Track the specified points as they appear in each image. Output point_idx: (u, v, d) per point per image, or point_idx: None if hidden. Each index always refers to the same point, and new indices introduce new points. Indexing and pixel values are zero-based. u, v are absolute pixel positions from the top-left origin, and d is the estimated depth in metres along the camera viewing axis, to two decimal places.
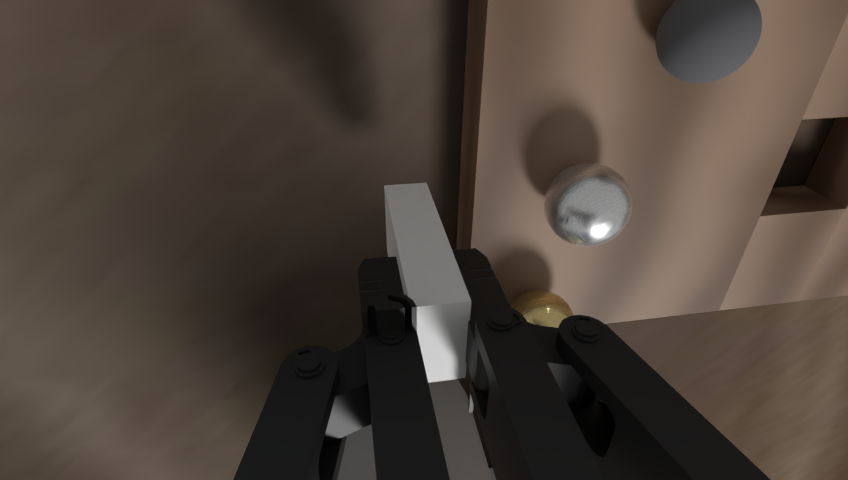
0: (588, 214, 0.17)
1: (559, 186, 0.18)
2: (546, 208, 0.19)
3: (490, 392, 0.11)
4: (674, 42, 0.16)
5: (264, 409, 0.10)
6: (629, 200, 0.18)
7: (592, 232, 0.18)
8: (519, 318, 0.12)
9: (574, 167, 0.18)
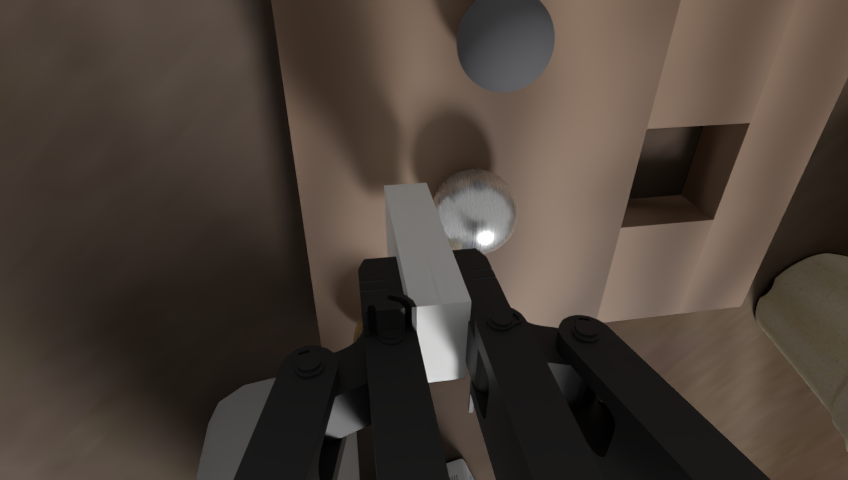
0: (515, 209, 0.18)
1: (484, 206, 0.17)
2: (478, 235, 0.17)
3: (490, 392, 0.11)
4: (464, 50, 0.15)
5: (264, 409, 0.10)
6: None
7: (516, 222, 0.18)
8: (519, 318, 0.12)
9: (468, 184, 0.17)
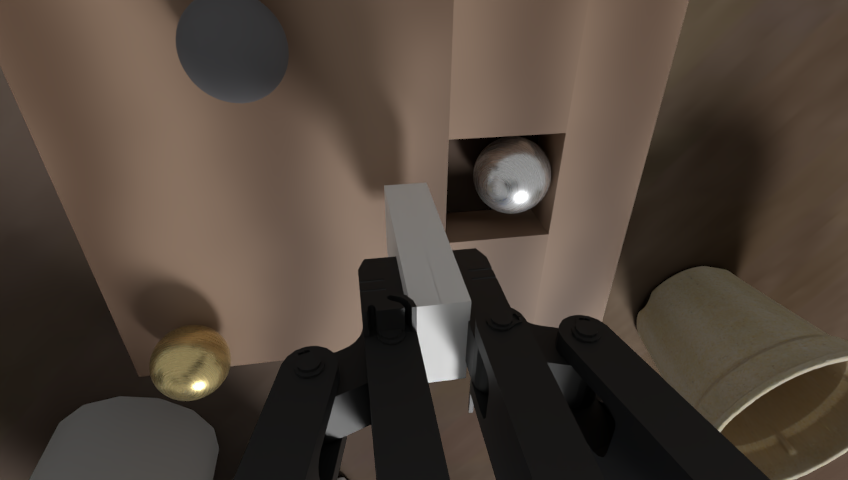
0: None
1: (545, 160, 0.20)
2: (547, 186, 0.20)
3: (490, 392, 0.11)
4: (179, 58, 0.14)
5: (264, 409, 0.10)
6: None
7: None
8: (519, 318, 0.12)
9: (526, 148, 0.19)
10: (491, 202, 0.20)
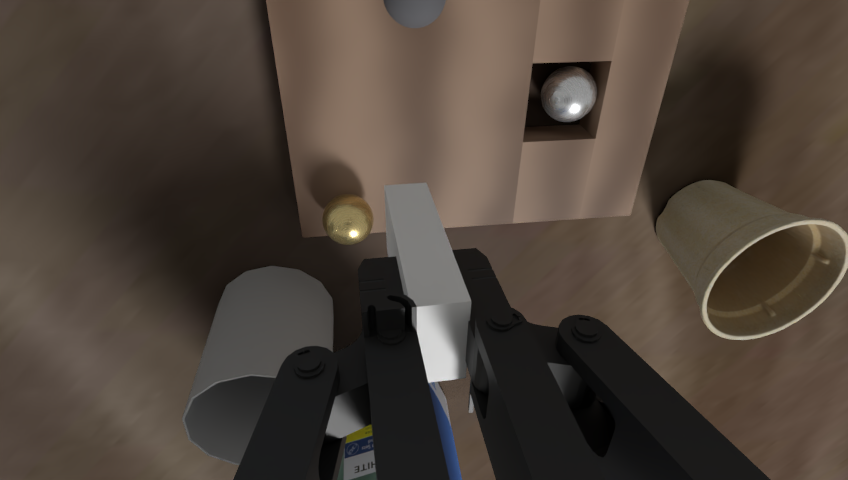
0: None
1: (592, 82, 0.28)
2: (593, 101, 0.28)
3: (490, 392, 0.11)
4: None
5: (264, 409, 0.10)
6: None
7: None
8: (519, 318, 0.12)
9: (579, 72, 0.28)
10: (552, 111, 0.29)
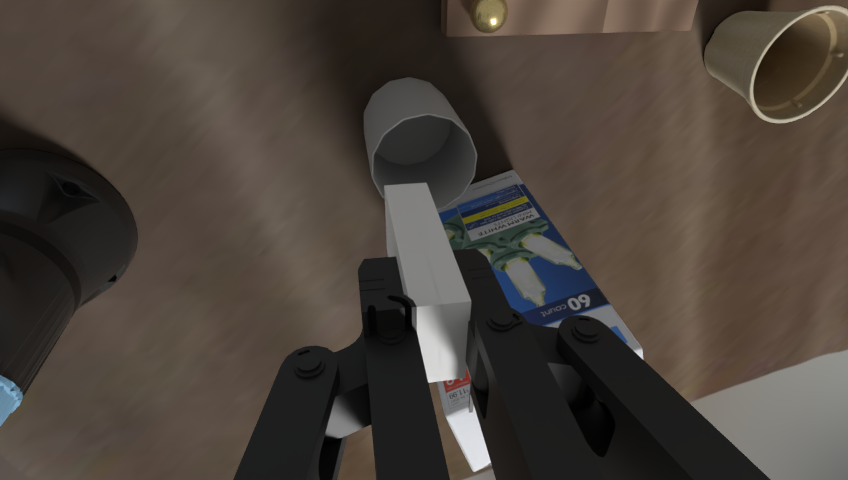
0: None
1: None
2: None
3: (490, 392, 0.11)
4: None
5: (264, 409, 0.10)
6: None
7: None
8: (519, 318, 0.12)
9: None
10: None
